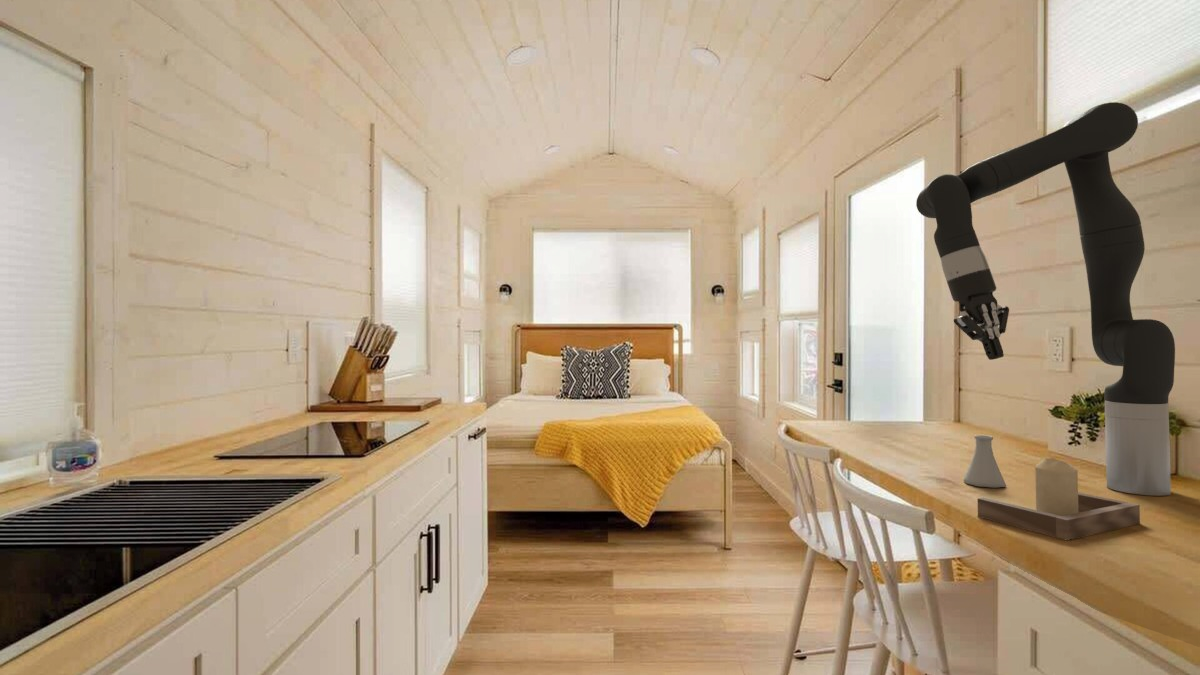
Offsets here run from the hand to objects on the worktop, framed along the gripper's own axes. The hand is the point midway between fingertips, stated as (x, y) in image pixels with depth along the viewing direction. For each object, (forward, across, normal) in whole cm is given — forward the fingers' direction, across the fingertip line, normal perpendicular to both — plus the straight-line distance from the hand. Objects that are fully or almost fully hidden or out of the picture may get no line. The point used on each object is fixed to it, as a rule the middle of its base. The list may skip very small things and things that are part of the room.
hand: (996, 358), depth 114 cm
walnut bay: (+27, -12, -9) cm, 31 cm away
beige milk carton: (+27, -12, -10) cm, 31 cm away
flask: (+25, 0, +12) cm, 28 cm away
